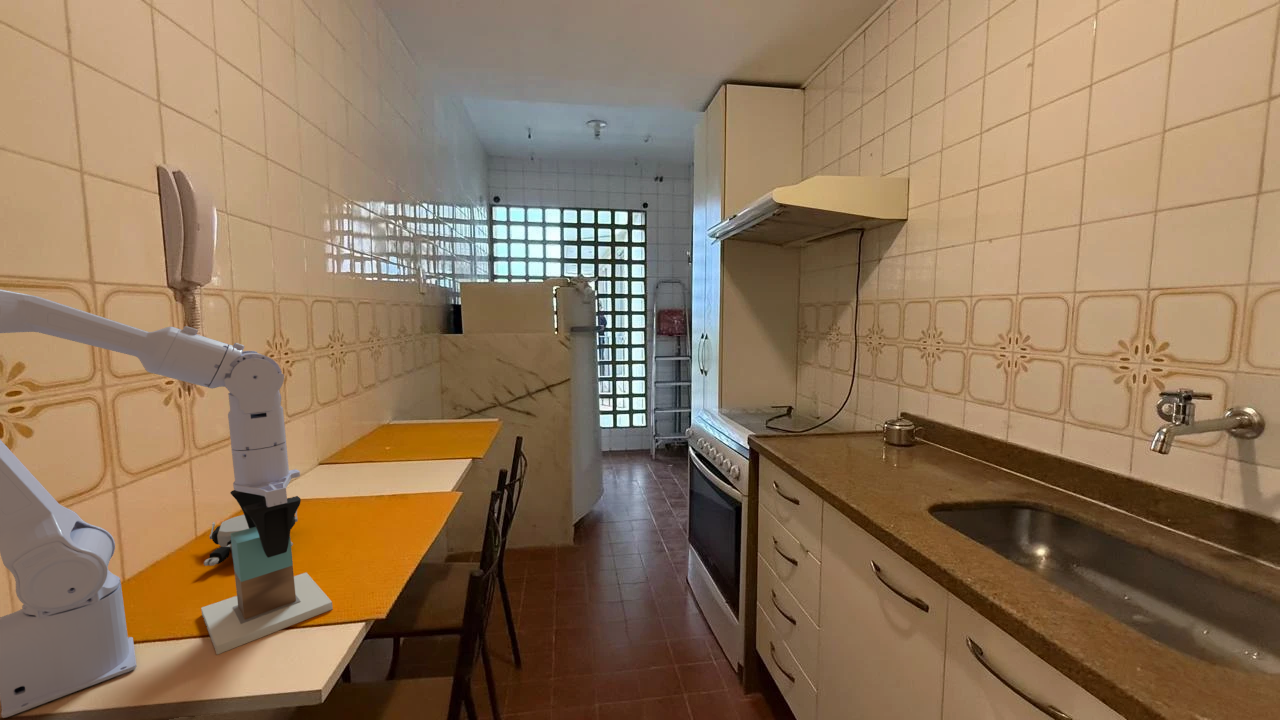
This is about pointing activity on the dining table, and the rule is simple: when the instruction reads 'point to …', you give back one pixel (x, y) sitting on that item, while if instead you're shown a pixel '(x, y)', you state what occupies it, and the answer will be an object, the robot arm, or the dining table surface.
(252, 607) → the walnut brick
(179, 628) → the dining table surface
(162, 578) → the dining table surface
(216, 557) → the robot toy
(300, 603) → the build plate
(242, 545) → the teal brick
